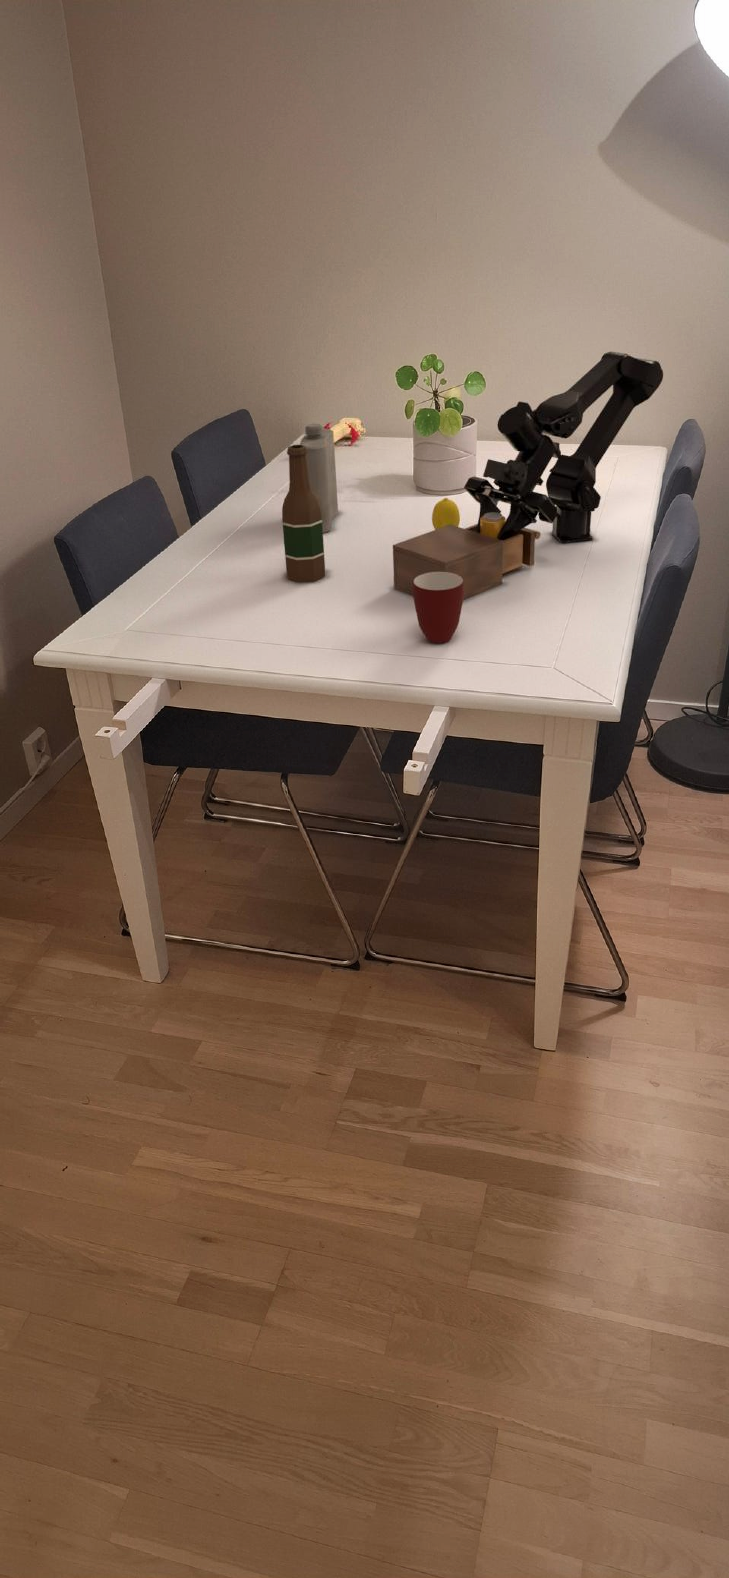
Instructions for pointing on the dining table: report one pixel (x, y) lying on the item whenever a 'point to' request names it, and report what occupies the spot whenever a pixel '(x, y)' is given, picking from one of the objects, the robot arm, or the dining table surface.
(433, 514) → the lemon
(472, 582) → the cabinet
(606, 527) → the dining table surface
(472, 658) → the dining table surface
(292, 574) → the beer bottle
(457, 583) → the mug
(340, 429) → the meaty bone
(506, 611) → the dining table surface
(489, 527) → the yellow jar
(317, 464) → the flask
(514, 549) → the drawer
